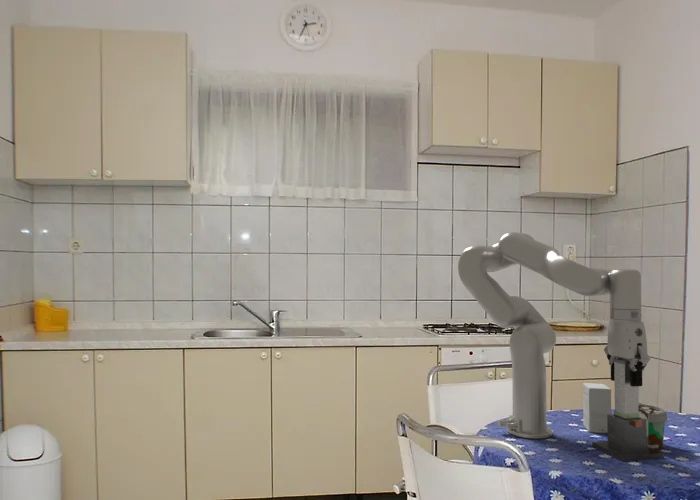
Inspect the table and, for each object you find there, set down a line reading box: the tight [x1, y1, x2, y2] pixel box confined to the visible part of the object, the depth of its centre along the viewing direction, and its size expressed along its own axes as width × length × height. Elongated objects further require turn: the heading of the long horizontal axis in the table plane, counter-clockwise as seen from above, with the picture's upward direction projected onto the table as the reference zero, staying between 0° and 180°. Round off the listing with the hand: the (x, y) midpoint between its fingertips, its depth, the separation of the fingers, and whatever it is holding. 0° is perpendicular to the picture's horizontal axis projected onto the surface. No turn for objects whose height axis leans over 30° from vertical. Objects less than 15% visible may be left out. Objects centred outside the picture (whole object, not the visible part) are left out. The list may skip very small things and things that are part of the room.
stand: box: [591, 413, 665, 462], centre depth 148 cm, size 12×12×9 cm
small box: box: [582, 382, 612, 434], centre depth 169 cm, size 8×6×13 cm
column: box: [613, 358, 639, 420], centre depth 149 cm, size 5×5×17 cm
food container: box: [638, 403, 669, 451], centre depth 153 cm, size 12×6×10 cm, turn 168°
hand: (626, 382), depth 149 cm, fingers open, 6 cm apart
